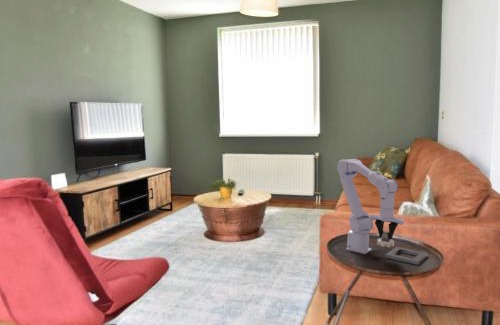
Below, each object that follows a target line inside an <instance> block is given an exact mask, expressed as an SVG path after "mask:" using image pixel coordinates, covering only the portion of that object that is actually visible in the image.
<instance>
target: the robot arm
mask: <svg viewBox="0 0 500 325" xmlns="http://www.w3.org/2000/svg"><path fill="white" fill-rule="evenodd" d="M336 169H337V173H338V175H339V179H340V183H341V186H342V188H343V191H344V195H345V197H346V200H347V203H348V206H349V208H350V212H351V214H350V216H349V217H348V219H349V227H350V230H349V231H348V233H347V238H346V239H347V242H346V250H347V251H350V252H355V253H359V254H362V255H363V254H364V255H365V254H367V253H369V252H371V251H372V248H371V247H369V246H370V245H369V244H370V243H369V242H370V232H371V230H372V229H373V228H374V225H375V227H376V228H377V232H378V235H379V238H381V235H382V231H384V224H385V223H388V232H389V239H391V240H393V237H394V236H393V235H394V233H395V231H396V229H397V227H398V225H400V226H404V224H405V219H402V218H398V217H394V216H395V215H394V214H395V195H396V192H398V190H399V184H398V182H397V181H396V180H395V179H393V178H392V179H390V178H388V176H384V175H383V174H381V171H379V170H378V171H376V170H375V171H372V169H370V168H368V167H367V166H366V165H364V163H363V162H362V160H360V159H357V158H350V159H342V158H341V159H340V160H339V161H338V162H337V166H336ZM357 174H361V175H362V176H364V177H365V178H367V181H368V182H369V183H370V184H371V185H373V186H374V187H376V188H377V190H378V192H379V196H380V203H379V204H380V205H379V214H369V213H368V212H366V211H365V210H364V209H363V206H362V203H361V200H360V198H359V195H358V192H357V189H356V186H355V184H354V181H353V179H354V178H355V177H356V175H357Z"/></svg>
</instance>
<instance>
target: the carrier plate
mask: <svg viewBox="0 0 500 325" xmlns="http://www.w3.org/2000/svg"><path fill="white" fill-rule="evenodd" d="M400 253H401V254H405V255H412V256H415V257H414V258H412V257H407V256H403V255H398V254H400ZM427 257H428V252H423V251H418V250H413V249H408V248H404V247H399V246H394V247H393V248H392V249H391V250H390V251H388V252H386V254H385V257H384V258H385V259H390V260H393V261H398V262H403V263H406V264H410V265H411V264H412V265H416V266H418V265H420V264H421V263H422V262H423V261H424V260H425V259H426V258H427Z"/></svg>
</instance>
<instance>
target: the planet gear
mask: <svg viewBox="0 0 500 325" xmlns="http://www.w3.org/2000/svg"><path fill="white" fill-rule="evenodd" d="M376 245H378V246H380V247H383V248H384V247H387V248H391V247H395V240H394V239H389V230H388V231H387V230H383V231H382V235H381V238H380V237H379V238H377V239H376Z"/></svg>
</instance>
